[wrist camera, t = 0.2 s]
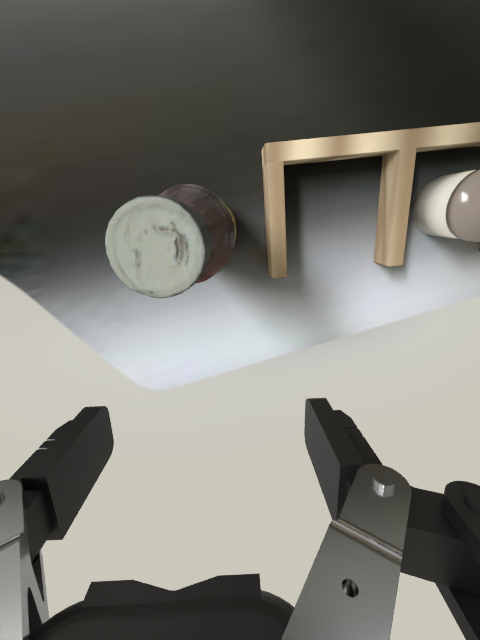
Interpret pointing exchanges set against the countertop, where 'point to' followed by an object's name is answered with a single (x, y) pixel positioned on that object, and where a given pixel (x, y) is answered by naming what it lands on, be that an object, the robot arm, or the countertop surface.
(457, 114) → the countertop surface
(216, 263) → the sauce bottle
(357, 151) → the comb rack
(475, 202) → the spice jar
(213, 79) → the countertop surface
